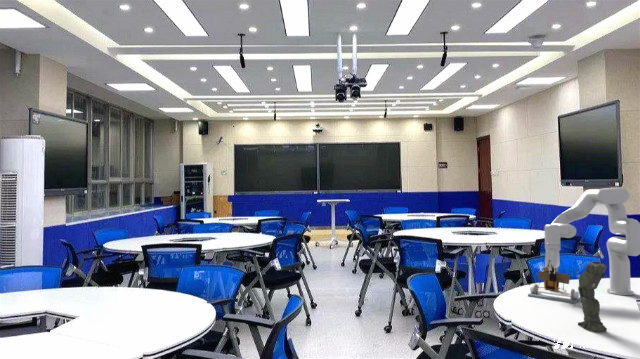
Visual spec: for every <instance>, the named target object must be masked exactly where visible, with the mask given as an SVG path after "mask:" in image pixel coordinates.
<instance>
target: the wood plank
mask: <svg viewBox="0 0 640 359" xmlns="http://www.w3.org/2000/svg"><path fill="white" fill-rule="evenodd" d="M537 274H538V281H540V280H541V281H543V282H544V281H550V279H549V272H544V271H537ZM555 274H556V281H553V282H559V284H560V283H561V284H564V285H565V284H566V285H570V274H569V273H561V272H558V273H555Z"/></svg>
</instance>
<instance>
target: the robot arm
mask: <svg viewBox="0 0 640 359" xmlns="http://www.w3.org/2000/svg"><path fill="white" fill-rule="evenodd" d="M629 199H630V193H629V191H628V190H627V189H626V188H622V187H605V188H604V187H603V188H594V189H593V188H590V189H586V190H585V191H584V192H583V193H582V194H581V196H580V197H579V198H578V200H576V201H575V203H574V205H572V207H570V208H568V209H567V210H565V211H563V212H562V213H560V214H559V215H557V217H555V219H553V221H552V222H551V223H550V224H549V223H547V224H545V225H544V249H545V256H544V257H545V258H544V263H545V264H544V267H546V268H548V267H549V279H550V281H556V274H555V273H557V268H558V269H559V267H560V263H561V259H560V251H561V250H562V249H561V246H562V245H561V238H567V239H571V238H573V237H575V236H576V235H577V228H576V226H574V225H572V224H570V223H572V222H575V221H579V220H582V219H584V218H587V217H588V216H589V214H590V213H591V212H592V211H593V209H594V208H595V207H596V205H604V206H605V207H606V209H607V213H608V215H607V216H608V229H609V232H610V233H612V234H613V235H619V236H612V237H609V238H608V239H607V241H606V249H607V253H608V262H609V264H608V265H609V288H607V289H606V292H607V293H609V294H612V295H618V296H634V295H635V292H634V291H633V290H631V261H630V259H629V256H631V257H637V256H639V255H640V222H639V221H638V220H637V219H634V218H629V217H628V215H627V209H626V205H625V203H626V202H628V201H629ZM620 235H621V236H620ZM623 236H625V237H623Z"/></svg>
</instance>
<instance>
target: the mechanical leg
mask: <svg viewBox="0 0 640 359" xmlns="http://www.w3.org/2000/svg"><path fill="white" fill-rule="evenodd" d="M607 268H608V266H607V265H606V263H605V264H604V263H601V261H600V260H598V261H591V262H588V263H587V265H586V266H585V270H584V271H583V272H582V273H580V275H579V277H578V287H577V290H578V291H577V292H579V297H580V299H581V300H580V304H581V308H582V313H583V321H580V322H578V323H577V326H579V327H581V328H583V329H586V330H587V331H590V332H593V333H594V332H598V333H607V329H608V328H607V327H606V326H605V325H604V323H603V322H602V321H601V320H602V319H601V318H600V317H601V316H600V310H601V308H600V307H601V306H600V305H601V304H600V301H599V300H598V299H597V298H596V297H595V290H597V289H598V286H599V284H600V282H601V280H602V279H603V278H606V277H607V274H606V270H607Z"/></svg>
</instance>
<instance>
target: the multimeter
mask: <svg viewBox="0 0 640 359" xmlns="http://www.w3.org/2000/svg"><path fill="white" fill-rule="evenodd" d="M544 260H545V256H544V257H543V258H542V261H541V262H542V263H541V264H542V266H543V267H542V269H543V272H549V267H548V268H546V267H545V266H544V264H543V263H544ZM560 263H561V266H562V270H563V272H565V269H564V265H563V262H562V261H560ZM557 273H559V267H558V268H557ZM541 281H542V280H539V282H538V289H540V288H544V290H549V291H554V292H557V291H559V290H560V289H561V287H560V283H559V282H553V281H544V280H543V286H541V287H540V284H541ZM564 290H565V291H567V290H566V289H565V284H563V287H562V291H563V292H565V291H564Z"/></svg>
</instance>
